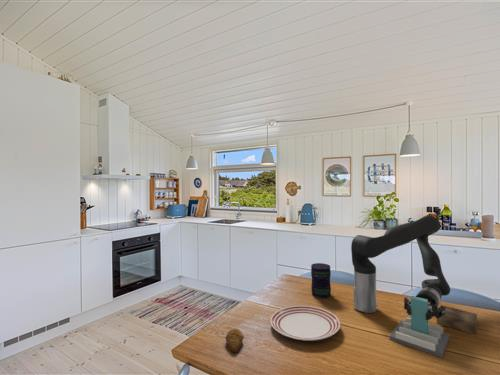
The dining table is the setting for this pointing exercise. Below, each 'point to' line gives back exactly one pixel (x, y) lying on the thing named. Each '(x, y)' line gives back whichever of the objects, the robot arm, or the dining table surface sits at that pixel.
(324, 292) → the storage jar
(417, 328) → the block
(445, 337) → the slotted rack
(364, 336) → the dining table surface
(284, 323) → the dinner plate
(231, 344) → the brown oval lump
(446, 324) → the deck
